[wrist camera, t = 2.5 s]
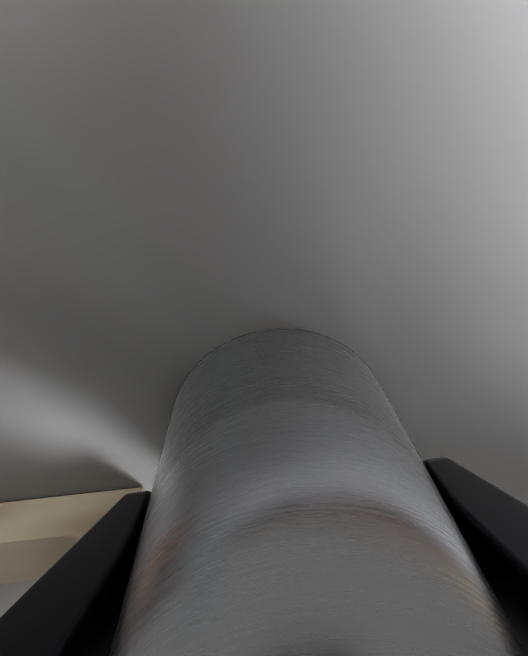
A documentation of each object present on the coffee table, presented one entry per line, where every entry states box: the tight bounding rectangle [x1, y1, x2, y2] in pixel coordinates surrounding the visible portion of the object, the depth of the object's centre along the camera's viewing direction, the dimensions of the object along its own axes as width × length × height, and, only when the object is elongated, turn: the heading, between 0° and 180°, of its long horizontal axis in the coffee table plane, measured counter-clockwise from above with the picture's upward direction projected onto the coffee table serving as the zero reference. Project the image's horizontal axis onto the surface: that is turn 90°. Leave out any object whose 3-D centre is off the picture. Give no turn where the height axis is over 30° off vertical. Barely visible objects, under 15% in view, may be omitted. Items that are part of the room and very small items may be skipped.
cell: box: [109, 329, 528, 656], centre depth 6 cm, size 4×4×8 cm
